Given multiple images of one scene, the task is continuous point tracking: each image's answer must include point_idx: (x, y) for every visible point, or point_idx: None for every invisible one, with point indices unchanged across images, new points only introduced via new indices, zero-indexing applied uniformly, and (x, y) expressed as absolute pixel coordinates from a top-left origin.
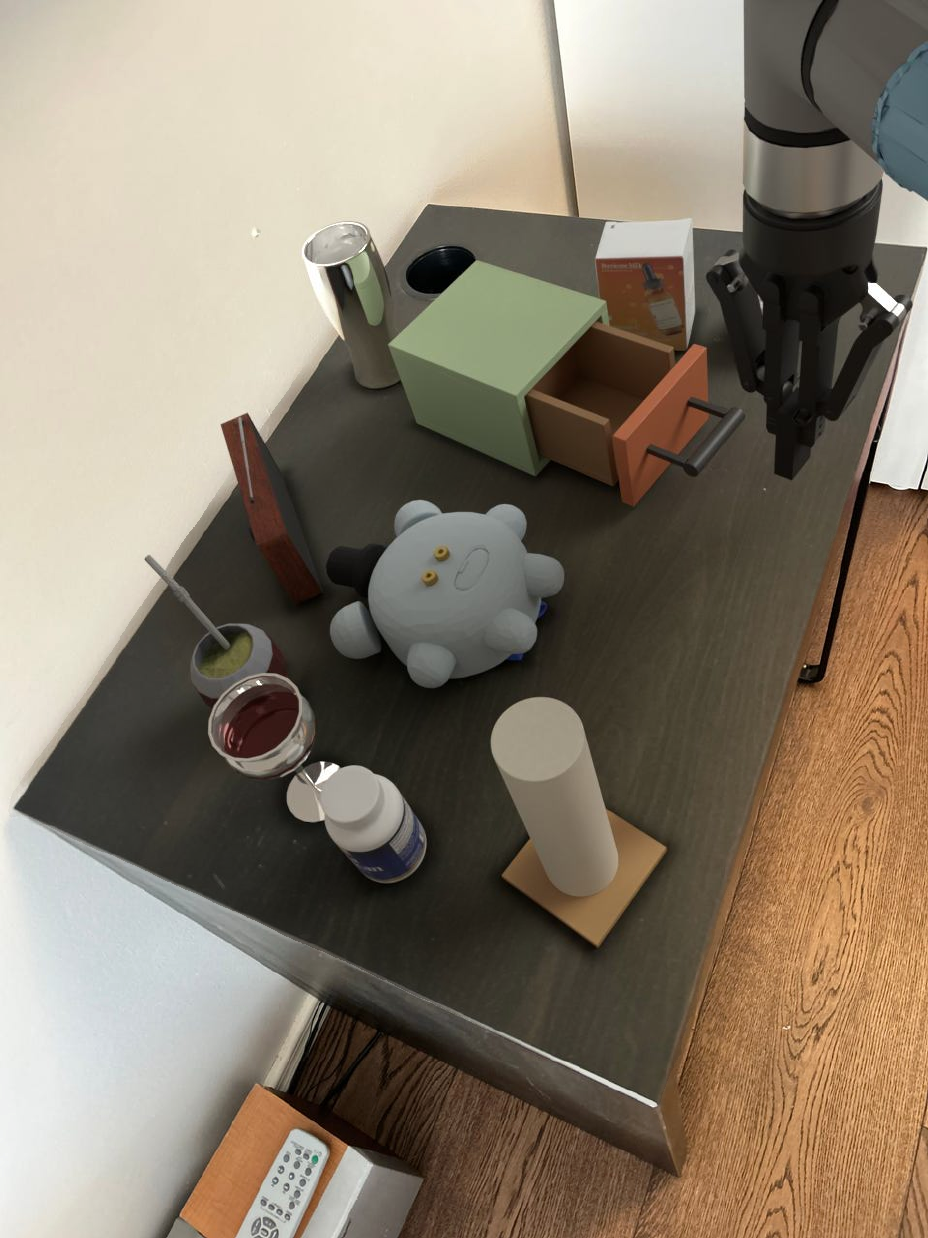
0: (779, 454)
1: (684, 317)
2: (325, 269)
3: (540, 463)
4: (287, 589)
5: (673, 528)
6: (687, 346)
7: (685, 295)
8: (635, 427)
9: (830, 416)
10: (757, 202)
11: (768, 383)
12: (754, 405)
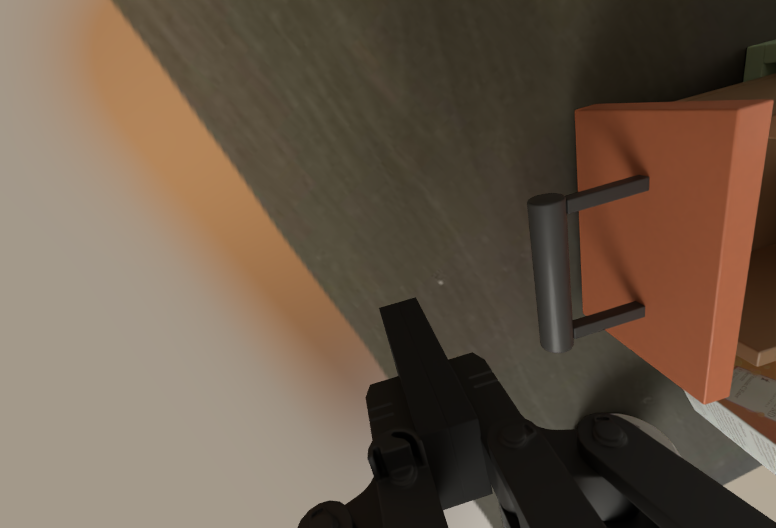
0: (420, 330)
1: (724, 404)
2: None
3: (761, 64)
4: None
5: (495, 135)
6: None
7: (762, 436)
8: (734, 161)
9: (317, 523)
10: None
11: (564, 495)
12: (544, 365)
